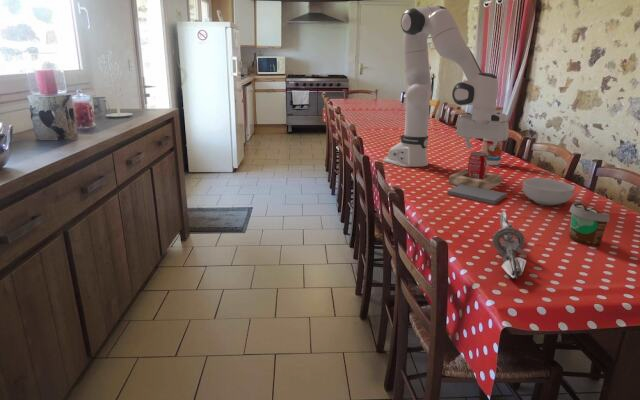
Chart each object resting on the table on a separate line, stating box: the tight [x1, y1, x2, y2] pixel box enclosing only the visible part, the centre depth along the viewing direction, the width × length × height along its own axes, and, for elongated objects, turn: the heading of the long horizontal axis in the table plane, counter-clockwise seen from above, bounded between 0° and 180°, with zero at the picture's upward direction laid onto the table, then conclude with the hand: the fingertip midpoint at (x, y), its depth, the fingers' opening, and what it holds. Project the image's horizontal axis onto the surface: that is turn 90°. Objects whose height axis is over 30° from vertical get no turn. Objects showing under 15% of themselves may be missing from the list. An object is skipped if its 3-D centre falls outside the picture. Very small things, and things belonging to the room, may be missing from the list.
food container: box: [569, 200, 611, 247], centre depth 124 cm, size 12×6×10 cm, turn 5°
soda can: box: [467, 151, 487, 180], centre depth 179 cm, size 7×7×13 cm
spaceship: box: [492, 210, 527, 279], centre depth 115 cm, size 8×35×8 cm
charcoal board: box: [447, 184, 507, 205], centre depth 165 cm, size 18×12×2 cm, turn 49°
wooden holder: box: [448, 168, 503, 190], centre depth 180 cm, size 16×16×4 cm
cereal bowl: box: [522, 177, 575, 206], centre depth 157 cm, size 17×17×7 cm
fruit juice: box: [480, 105, 504, 166], centre depth 211 cm, size 9×9×28 cm
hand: (480, 149), depth 176 cm, fingers open, 8 cm apart
